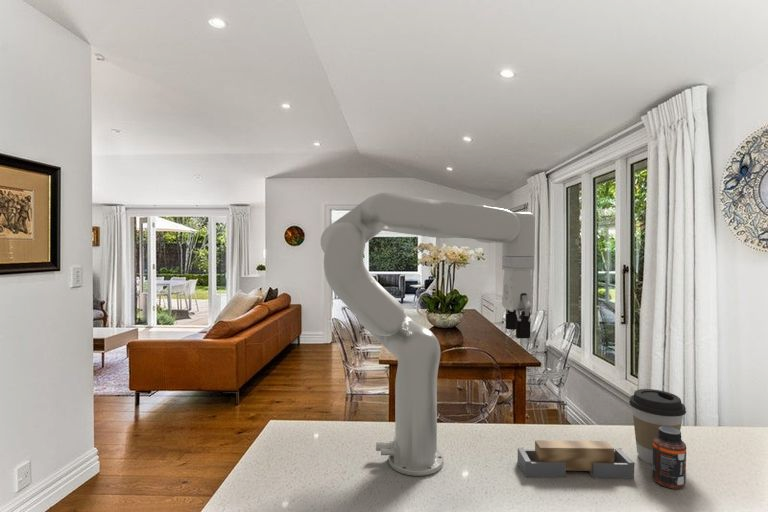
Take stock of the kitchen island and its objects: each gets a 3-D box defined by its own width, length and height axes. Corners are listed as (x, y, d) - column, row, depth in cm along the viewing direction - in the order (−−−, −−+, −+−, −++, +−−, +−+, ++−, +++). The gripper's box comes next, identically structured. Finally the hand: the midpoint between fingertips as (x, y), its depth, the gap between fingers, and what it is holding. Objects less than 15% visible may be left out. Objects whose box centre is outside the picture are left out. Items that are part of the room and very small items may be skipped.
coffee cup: (696, 471, 98) (699, 404, 97) (645, 471, 98) (647, 405, 97) (664, 446, 109) (665, 387, 109) (618, 447, 109) (619, 387, 109)
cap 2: (619, 463, 101) (620, 448, 101) (634, 478, 95) (634, 462, 95) (581, 462, 102) (581, 448, 102) (593, 477, 96) (593, 462, 95)
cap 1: (525, 476, 96) (525, 461, 96) (517, 462, 102) (517, 447, 102) (565, 477, 96) (565, 461, 96) (555, 462, 102) (555, 448, 102)
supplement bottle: (690, 492, 90) (692, 437, 90) (658, 488, 91) (660, 434, 91) (677, 476, 96) (679, 425, 96) (647, 473, 97) (648, 422, 97)
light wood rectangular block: (539, 470, 97) (540, 447, 97) (534, 461, 101) (535, 440, 100) (613, 471, 97) (614, 448, 96) (606, 462, 100) (606, 441, 100)
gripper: (494, 261, 116) (494, 326, 117) (511, 265, 99) (510, 341, 100) (523, 261, 116) (522, 326, 117) (545, 265, 99) (544, 342, 99)
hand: (517, 333), depth 108 cm, fingers open, 9 cm apart
